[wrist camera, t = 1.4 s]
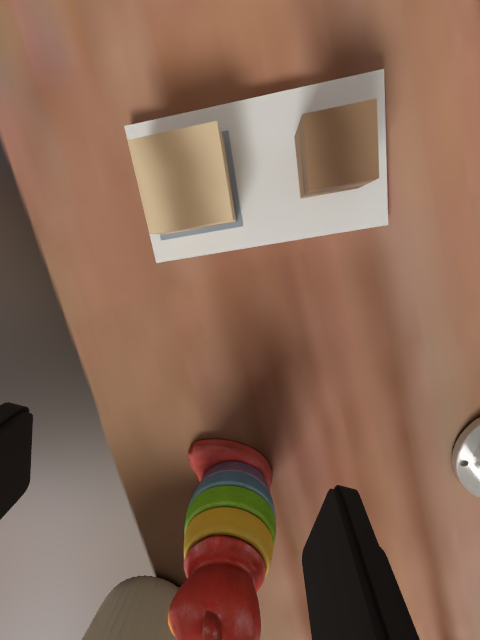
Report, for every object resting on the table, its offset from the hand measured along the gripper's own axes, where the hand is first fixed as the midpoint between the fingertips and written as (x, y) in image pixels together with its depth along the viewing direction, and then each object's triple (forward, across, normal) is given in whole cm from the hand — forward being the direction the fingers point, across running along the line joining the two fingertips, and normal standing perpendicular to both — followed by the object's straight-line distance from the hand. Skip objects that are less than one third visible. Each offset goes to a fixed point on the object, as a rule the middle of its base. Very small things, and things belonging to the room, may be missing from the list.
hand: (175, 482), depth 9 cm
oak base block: (+22, +6, -10) cm, 25 cm away
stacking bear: (+23, -5, +21) cm, 32 cm away
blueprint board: (+23, +1, -12) cm, 26 cm away
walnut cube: (+22, -5, -15) cm, 27 cm away
